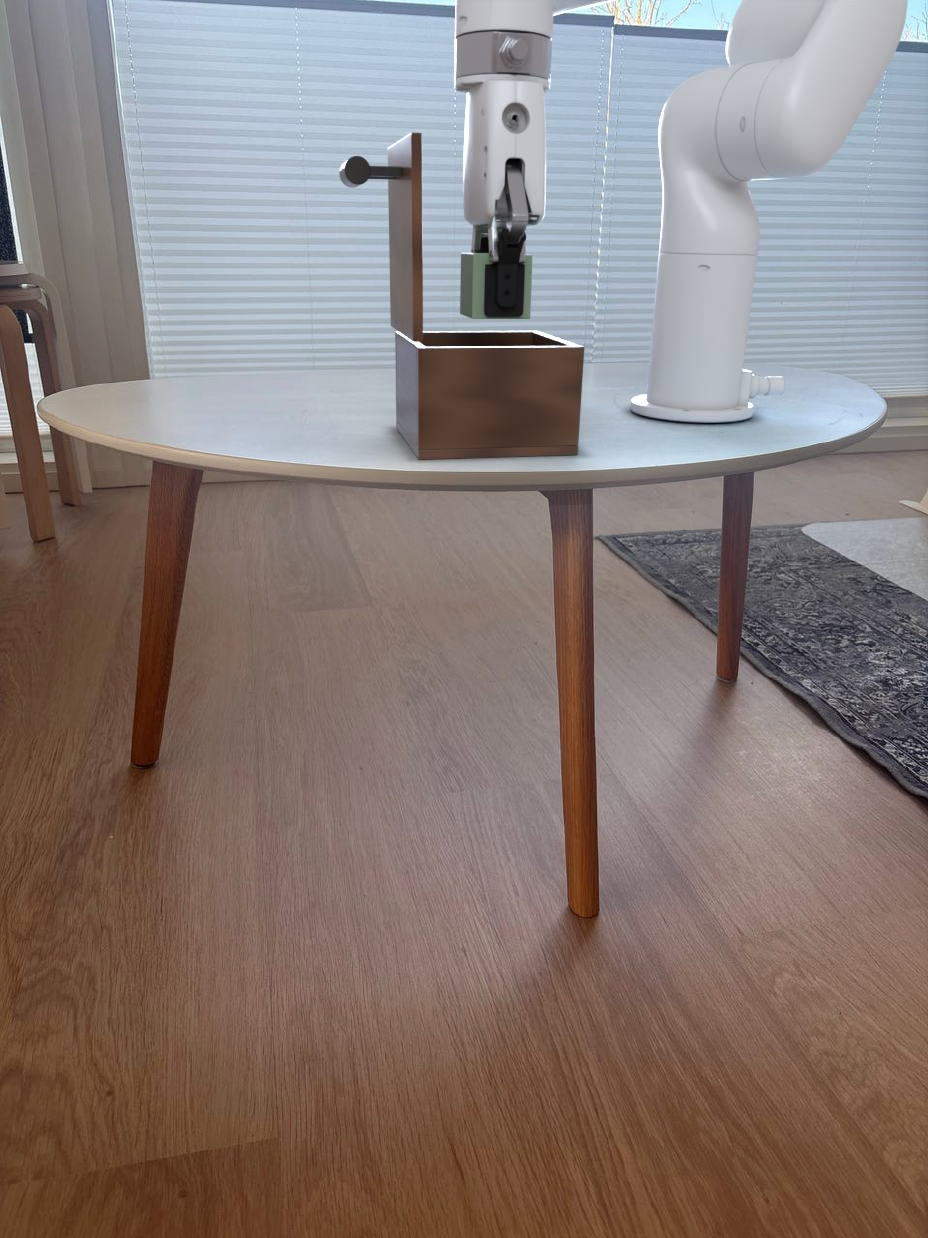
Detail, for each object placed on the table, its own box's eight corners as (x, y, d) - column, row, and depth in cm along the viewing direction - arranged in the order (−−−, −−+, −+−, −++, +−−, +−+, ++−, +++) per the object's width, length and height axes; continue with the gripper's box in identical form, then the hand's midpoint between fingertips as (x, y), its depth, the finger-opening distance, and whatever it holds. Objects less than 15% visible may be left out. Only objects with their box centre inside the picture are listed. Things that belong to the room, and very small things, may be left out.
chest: (534, 424, 91) (538, 330, 87) (578, 454, 78) (584, 346, 75) (396, 428, 88) (395, 331, 85) (418, 459, 76) (418, 347, 72)
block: (515, 314, 82) (517, 253, 80) (530, 318, 78) (533, 254, 76) (459, 314, 81) (460, 252, 79) (471, 318, 77) (473, 253, 75)
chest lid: (396, 148, 79) (334, 146, 78) (422, 132, 67) (348, 129, 66) (399, 326, 85) (340, 326, 84) (423, 341, 72) (355, 342, 71)
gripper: (583, 51, 65) (567, 322, 72) (521, 86, 81) (513, 306, 88) (479, 45, 64) (473, 322, 71) (436, 82, 79) (434, 306, 86)
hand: (495, 311), depth 79 cm, fingers closed on block, 5 cm apart
